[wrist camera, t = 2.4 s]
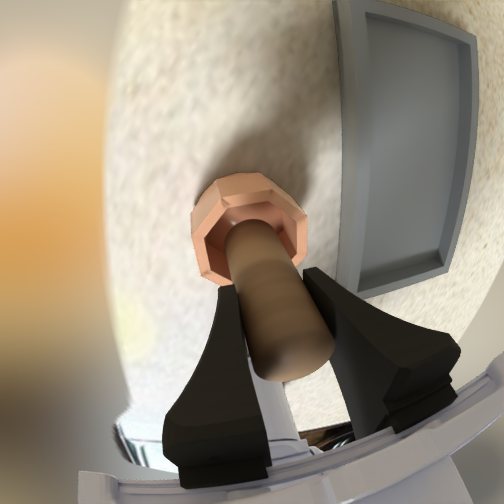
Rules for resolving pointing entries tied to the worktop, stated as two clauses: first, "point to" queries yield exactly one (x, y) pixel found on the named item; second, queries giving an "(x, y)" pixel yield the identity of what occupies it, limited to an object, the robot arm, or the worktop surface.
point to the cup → (239, 209)
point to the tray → (402, 143)
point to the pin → (275, 305)
